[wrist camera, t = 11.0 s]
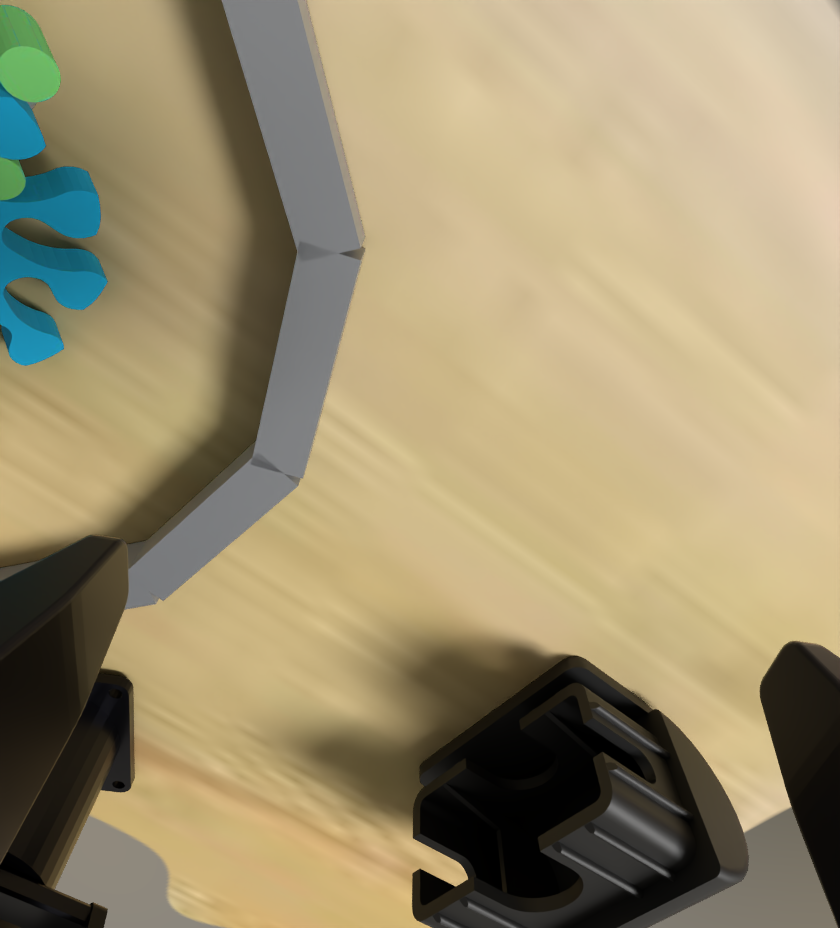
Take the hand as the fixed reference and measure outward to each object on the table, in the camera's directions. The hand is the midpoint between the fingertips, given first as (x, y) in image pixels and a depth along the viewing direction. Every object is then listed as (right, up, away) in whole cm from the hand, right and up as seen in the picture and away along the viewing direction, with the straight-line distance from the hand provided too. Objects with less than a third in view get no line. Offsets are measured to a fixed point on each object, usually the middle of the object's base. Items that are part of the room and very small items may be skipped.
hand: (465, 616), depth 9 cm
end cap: (+5, -10, +18) cm, 21 cm away
